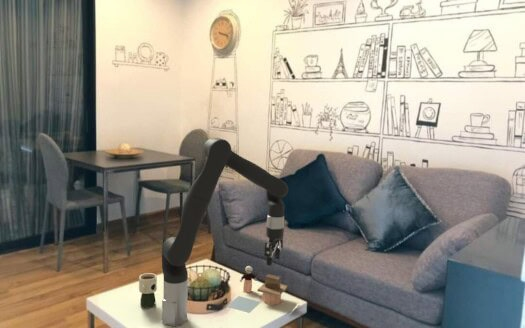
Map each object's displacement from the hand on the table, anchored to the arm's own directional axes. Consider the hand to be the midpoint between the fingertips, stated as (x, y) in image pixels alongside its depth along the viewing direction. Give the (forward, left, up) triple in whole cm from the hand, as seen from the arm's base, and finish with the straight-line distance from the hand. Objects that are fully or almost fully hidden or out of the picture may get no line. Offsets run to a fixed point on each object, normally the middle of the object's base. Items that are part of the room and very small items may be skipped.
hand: (273, 261), depth 188 cm
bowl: (0, 0, -18) cm, 18 cm away
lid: (0, 0, -13) cm, 13 cm away
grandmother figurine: (+3, +13, -19) cm, 23 cm away
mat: (-9, +9, -18) cm, 22 cm away
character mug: (-29, +44, -19) cm, 56 cm away
